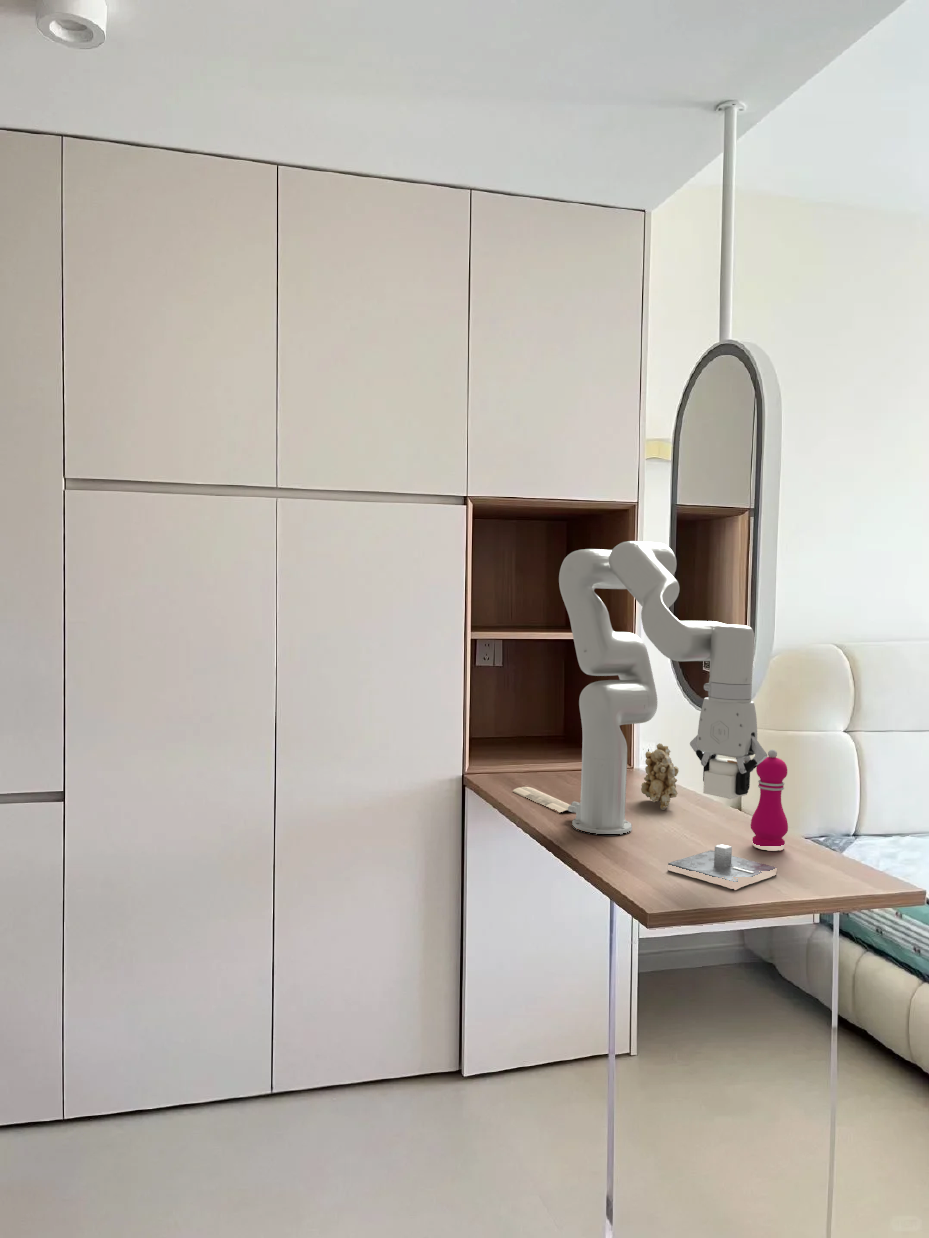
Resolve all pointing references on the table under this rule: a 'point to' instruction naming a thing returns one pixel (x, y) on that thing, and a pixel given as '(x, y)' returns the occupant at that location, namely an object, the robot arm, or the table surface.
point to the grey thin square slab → (721, 864)
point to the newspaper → (542, 798)
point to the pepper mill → (770, 803)
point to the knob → (721, 778)
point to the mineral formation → (660, 776)
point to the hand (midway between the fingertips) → (725, 789)
